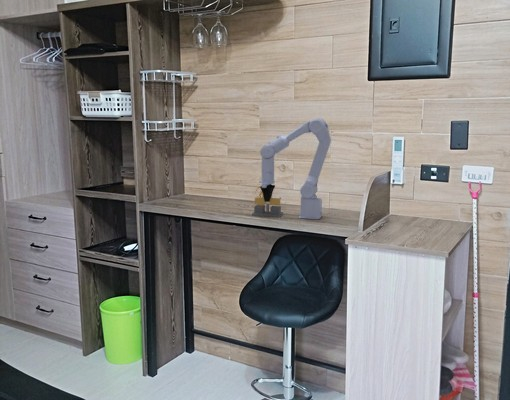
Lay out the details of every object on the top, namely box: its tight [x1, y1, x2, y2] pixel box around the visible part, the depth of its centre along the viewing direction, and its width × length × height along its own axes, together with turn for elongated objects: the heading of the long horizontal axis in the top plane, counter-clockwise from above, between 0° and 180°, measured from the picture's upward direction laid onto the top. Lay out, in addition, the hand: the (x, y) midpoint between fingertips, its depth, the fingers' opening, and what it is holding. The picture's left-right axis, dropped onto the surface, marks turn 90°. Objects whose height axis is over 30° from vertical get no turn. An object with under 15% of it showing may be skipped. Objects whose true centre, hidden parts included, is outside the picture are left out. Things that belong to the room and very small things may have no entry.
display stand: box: [251, 203, 284, 218], centre depth 237 cm, size 7×13×5 cm, turn 74°
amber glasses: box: [254, 196, 282, 206], centre depth 238 cm, size 4×12×3 cm, turn 75°
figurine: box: [254, 186, 264, 205], centre depth 254 cm, size 8×6×12 cm
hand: (267, 201), depth 237 cm, fingers closed on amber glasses, 2 cm apart
